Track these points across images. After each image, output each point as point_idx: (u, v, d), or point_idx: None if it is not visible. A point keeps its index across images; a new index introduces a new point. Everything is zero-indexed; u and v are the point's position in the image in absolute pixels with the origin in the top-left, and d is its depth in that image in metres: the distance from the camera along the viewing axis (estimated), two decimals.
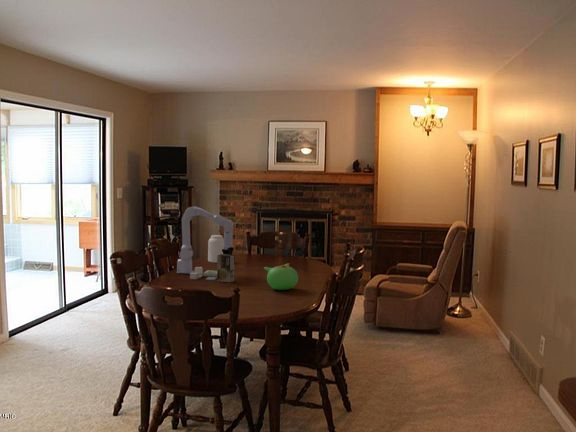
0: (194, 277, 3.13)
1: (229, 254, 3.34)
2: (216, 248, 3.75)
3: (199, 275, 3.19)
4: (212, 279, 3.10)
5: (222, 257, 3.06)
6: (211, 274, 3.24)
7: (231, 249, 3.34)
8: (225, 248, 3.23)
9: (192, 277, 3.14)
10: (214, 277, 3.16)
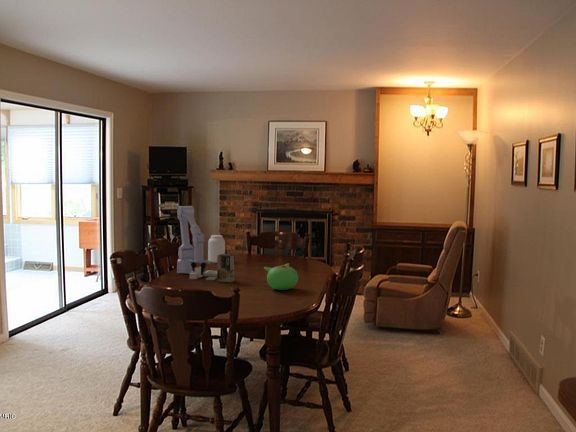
0: (194, 277, 3.13)
1: None
2: (216, 248, 3.75)
3: (199, 275, 3.19)
4: (212, 279, 3.10)
5: (222, 257, 3.06)
6: (211, 274, 3.24)
7: (201, 265, 3.19)
8: None
9: (192, 277, 3.14)
10: (214, 277, 3.16)
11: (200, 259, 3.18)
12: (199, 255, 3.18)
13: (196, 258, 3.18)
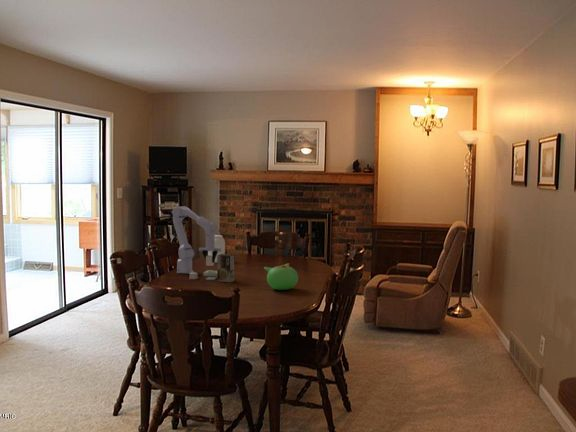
0: (193, 277, 3.13)
1: (213, 258, 3.26)
2: None
3: (210, 263, 3.24)
4: (212, 279, 3.11)
5: (222, 257, 3.06)
6: (211, 274, 3.24)
7: None
8: None
9: (191, 277, 3.14)
10: (214, 277, 3.16)
11: (211, 247, 3.23)
12: (210, 243, 3.23)
13: (207, 246, 3.23)
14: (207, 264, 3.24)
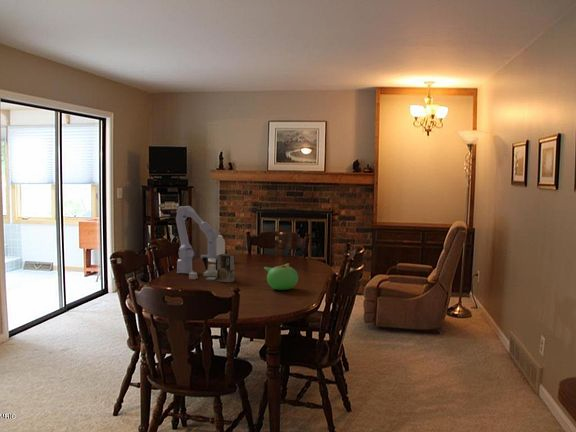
0: (193, 277, 3.13)
1: (216, 265, 3.27)
2: None
3: (212, 272, 3.26)
4: (212, 279, 3.11)
5: (222, 257, 3.06)
6: (211, 274, 3.24)
7: (216, 260, 3.26)
8: None
9: (191, 277, 3.14)
10: (214, 277, 3.16)
11: (213, 254, 3.25)
12: (212, 250, 3.24)
13: (209, 253, 3.24)
14: None
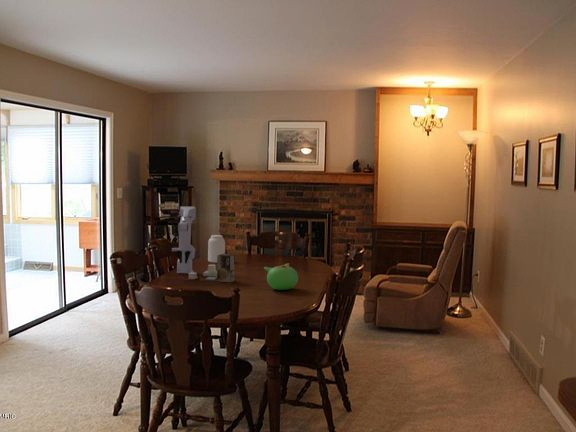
0: (193, 277, 3.14)
1: None
2: (216, 248, 3.75)
3: (212, 272, 3.26)
4: (212, 279, 3.11)
5: (222, 257, 3.06)
6: (211, 274, 3.24)
7: (185, 254, 3.14)
8: None
9: (191, 277, 3.14)
10: (214, 277, 3.16)
11: (185, 247, 3.13)
12: (184, 243, 3.12)
13: (181, 246, 3.12)
14: None
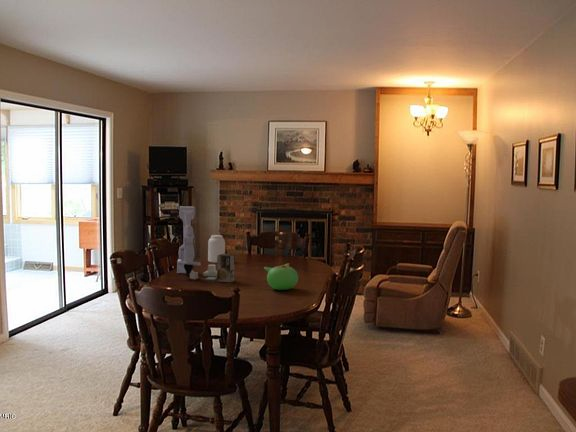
0: (194, 277, 3.13)
1: None
2: (216, 248, 3.75)
3: (212, 272, 3.26)
4: (212, 279, 3.11)
5: (222, 257, 3.06)
6: (211, 274, 3.24)
7: None
8: None
9: (192, 277, 3.14)
10: (214, 277, 3.16)
11: (190, 261, 3.13)
12: (189, 257, 3.12)
13: (186, 260, 3.13)
14: None
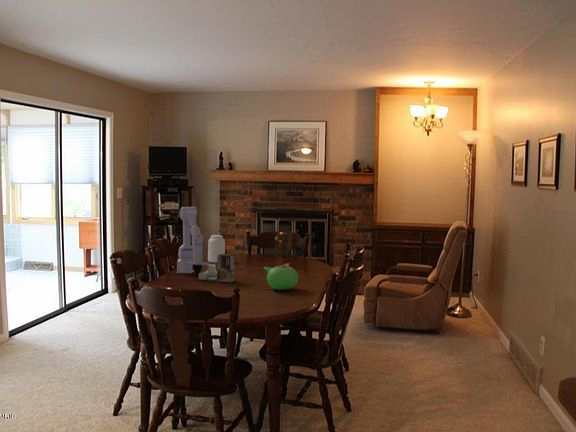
0: (203, 277, 3.13)
1: None
2: (216, 248, 3.75)
3: (212, 272, 3.26)
4: (213, 279, 3.10)
5: (222, 257, 3.06)
6: (211, 274, 3.24)
7: None
8: None
9: (201, 277, 3.13)
10: (215, 277, 3.16)
11: (199, 261, 3.12)
12: (198, 257, 3.12)
13: (195, 260, 3.12)
14: None
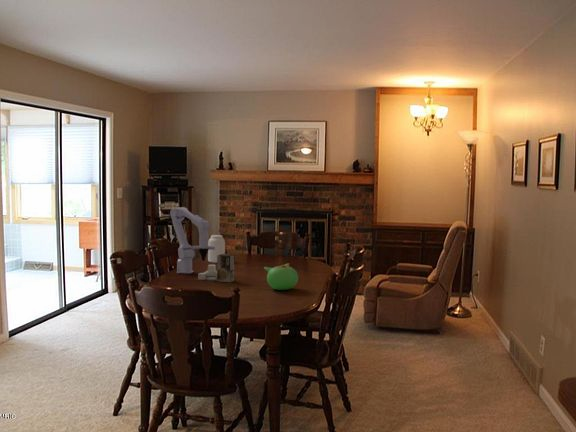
0: (202, 277, 3.13)
1: None
2: (216, 248, 3.75)
3: (212, 272, 3.26)
4: (213, 279, 3.10)
5: (222, 257, 3.06)
6: (211, 274, 3.24)
7: None
8: None
9: (200, 277, 3.13)
10: (215, 277, 3.16)
11: (205, 245, 3.21)
12: (204, 241, 3.21)
13: (201, 244, 3.21)
14: None
